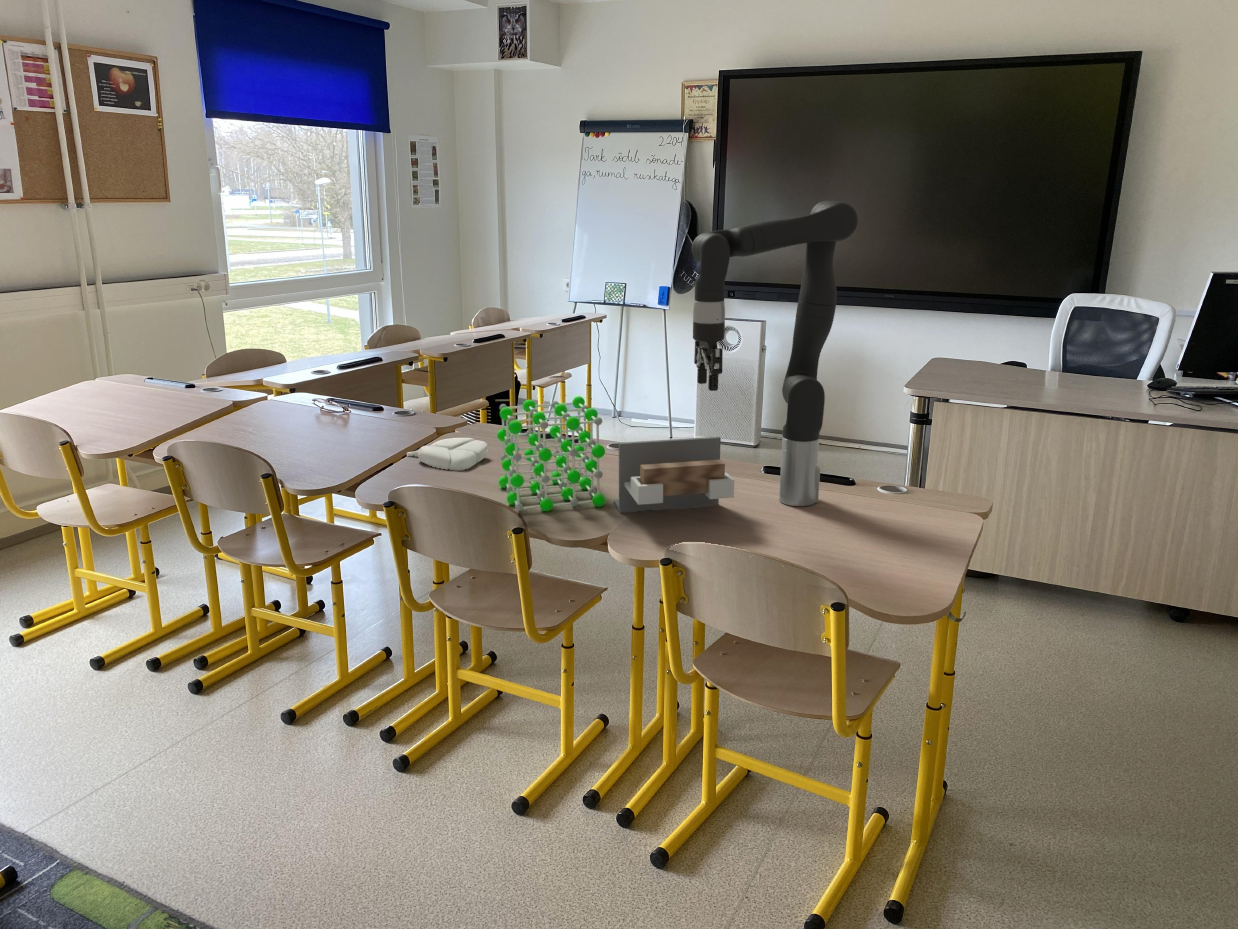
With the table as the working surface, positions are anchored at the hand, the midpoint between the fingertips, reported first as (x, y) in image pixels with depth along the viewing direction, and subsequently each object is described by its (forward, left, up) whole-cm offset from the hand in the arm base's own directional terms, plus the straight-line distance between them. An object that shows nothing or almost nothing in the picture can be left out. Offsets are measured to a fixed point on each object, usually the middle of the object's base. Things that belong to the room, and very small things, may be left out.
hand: (707, 386), depth 222 cm
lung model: (+63, -61, -33) cm, 93 cm away
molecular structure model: (+36, -20, -32) cm, 52 cm away
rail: (+8, +7, -24) cm, 26 cm away
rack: (+8, 0, -32) cm, 33 cm away
